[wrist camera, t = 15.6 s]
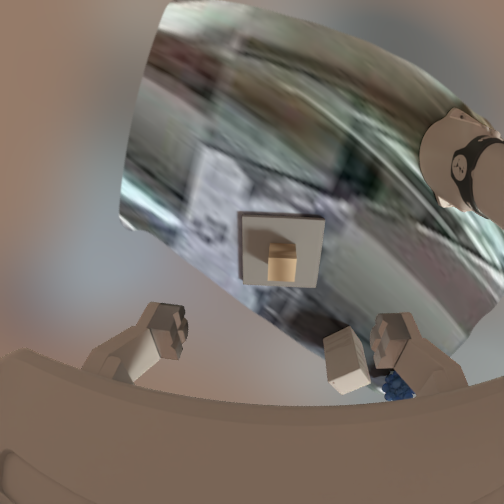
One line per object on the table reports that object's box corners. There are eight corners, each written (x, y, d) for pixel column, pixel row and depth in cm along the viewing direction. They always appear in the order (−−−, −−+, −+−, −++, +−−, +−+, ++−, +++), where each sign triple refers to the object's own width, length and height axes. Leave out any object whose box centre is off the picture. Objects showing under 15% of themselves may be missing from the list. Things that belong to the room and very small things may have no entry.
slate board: (324, 218, 46) (325, 220, 46) (315, 284, 53) (315, 287, 53) (242, 214, 48) (241, 216, 47) (243, 281, 55) (243, 284, 54)
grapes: (406, 353, 62) (418, 388, 52) (415, 361, 64) (427, 395, 54) (372, 374, 67) (379, 409, 57) (383, 381, 69) (391, 415, 59)
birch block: (295, 244, 48) (296, 259, 44) (293, 265, 51) (294, 281, 46) (269, 242, 49) (268, 257, 44) (268, 264, 51) (267, 280, 47)
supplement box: (335, 353, 63) (340, 396, 52) (322, 337, 61) (326, 382, 50) (362, 341, 61) (371, 384, 50) (350, 324, 58) (360, 368, 47)
